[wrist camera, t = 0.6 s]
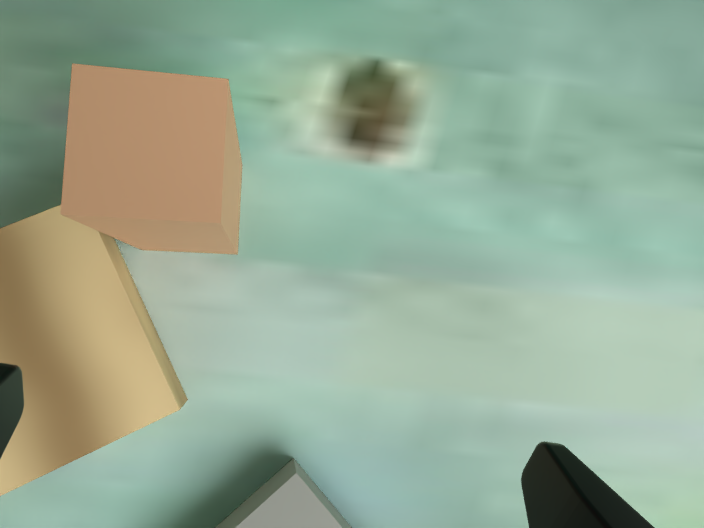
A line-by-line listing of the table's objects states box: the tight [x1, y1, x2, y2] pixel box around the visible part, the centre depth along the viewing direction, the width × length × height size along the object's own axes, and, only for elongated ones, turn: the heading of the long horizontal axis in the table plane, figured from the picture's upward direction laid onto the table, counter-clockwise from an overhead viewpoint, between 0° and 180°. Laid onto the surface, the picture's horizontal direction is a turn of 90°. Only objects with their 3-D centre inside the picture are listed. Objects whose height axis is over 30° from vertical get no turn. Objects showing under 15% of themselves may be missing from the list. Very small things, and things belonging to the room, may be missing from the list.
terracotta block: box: [60, 64, 242, 254], centre depth 18 cm, size 4×4×9 cm
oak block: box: [0, 205, 188, 496], centre depth 21 cm, size 9×9×2 cm
